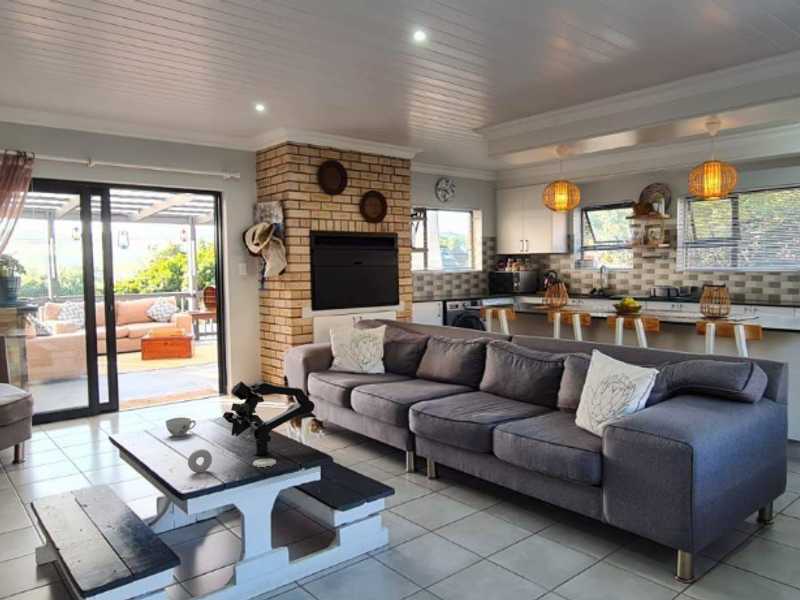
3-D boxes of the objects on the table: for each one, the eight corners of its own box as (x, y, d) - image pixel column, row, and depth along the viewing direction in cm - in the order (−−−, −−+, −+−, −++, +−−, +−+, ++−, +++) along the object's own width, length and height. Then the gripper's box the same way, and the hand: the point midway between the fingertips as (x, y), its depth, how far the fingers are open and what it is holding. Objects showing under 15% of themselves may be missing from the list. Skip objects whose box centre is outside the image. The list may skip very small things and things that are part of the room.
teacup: (168, 440, 297) (168, 424, 296) (163, 434, 307) (163, 419, 307) (198, 435, 305) (198, 420, 305) (193, 429, 315) (192, 415, 315)
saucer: (258, 459, 263) (258, 457, 263) (279, 460, 261) (279, 458, 261) (249, 467, 253) (249, 465, 253) (270, 468, 251) (270, 466, 251)
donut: (189, 476, 243) (188, 452, 242) (187, 473, 246) (186, 450, 245) (213, 471, 249) (212, 448, 248) (211, 468, 251) (210, 446, 251)
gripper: (224, 394, 265) (208, 423, 256) (257, 397, 257) (241, 428, 248) (237, 407, 273) (221, 436, 263) (269, 411, 265) (254, 441, 255)
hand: (234, 435), depth 257 cm, fingers closed
